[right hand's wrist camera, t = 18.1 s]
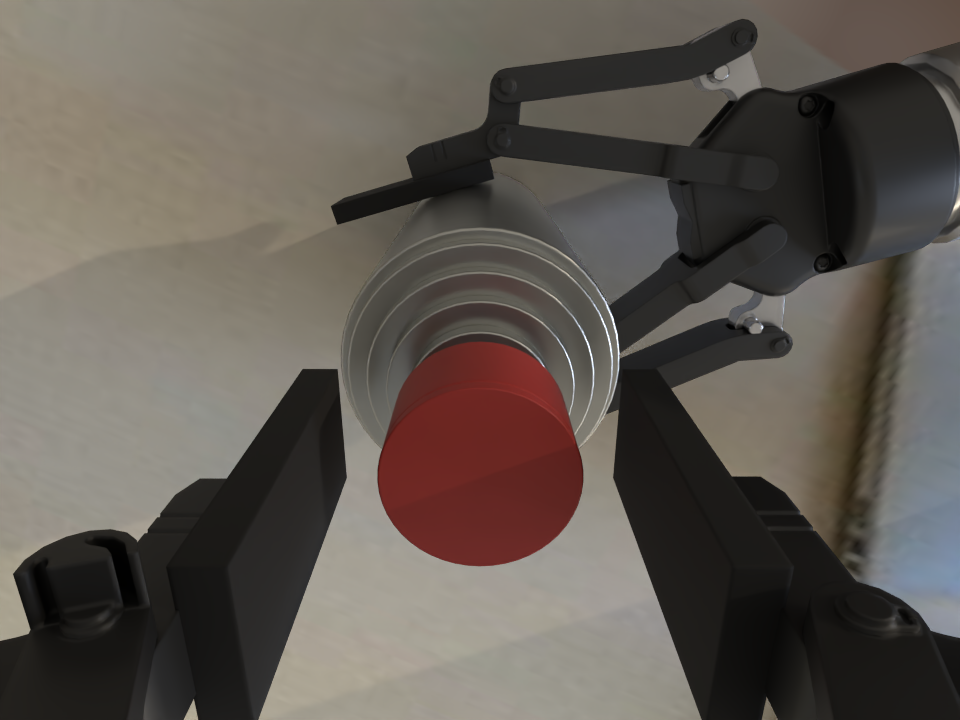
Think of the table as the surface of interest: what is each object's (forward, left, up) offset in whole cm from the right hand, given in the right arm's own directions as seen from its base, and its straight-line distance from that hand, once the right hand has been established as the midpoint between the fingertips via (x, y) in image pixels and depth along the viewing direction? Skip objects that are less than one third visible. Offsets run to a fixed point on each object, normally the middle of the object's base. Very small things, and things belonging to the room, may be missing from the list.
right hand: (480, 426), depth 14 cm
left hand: (-3, -4, -14) cm, 15 cm away
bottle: (0, 0, -21) cm, 21 cm away
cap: (0, 0, +2) cm, 2 cm away
